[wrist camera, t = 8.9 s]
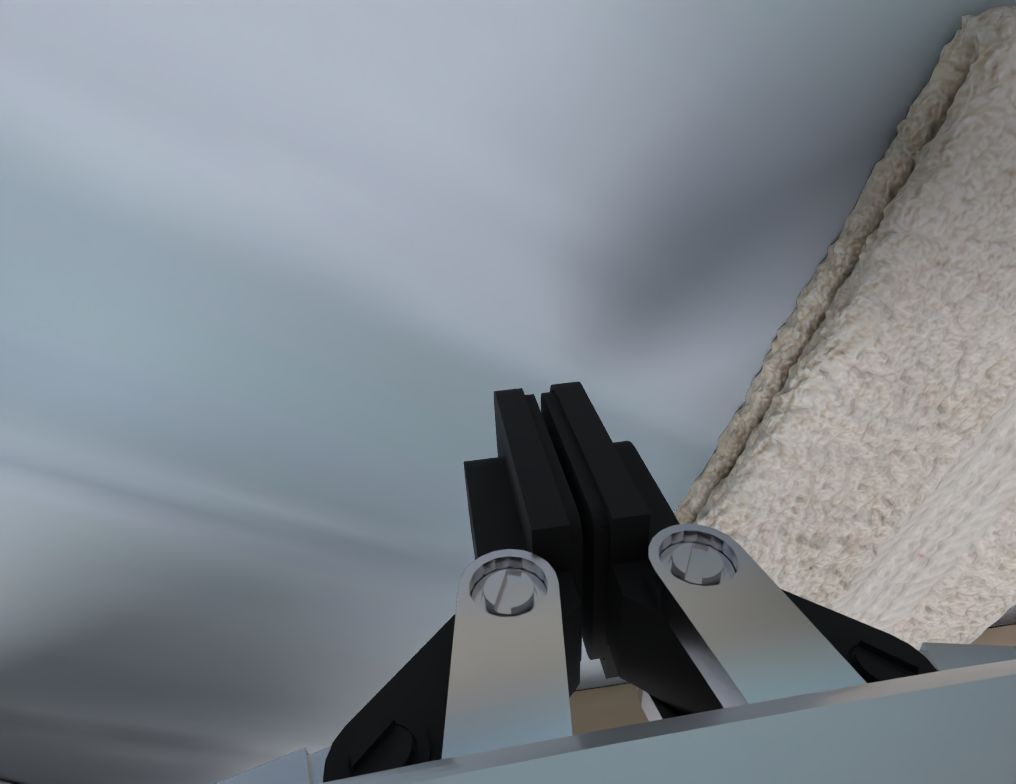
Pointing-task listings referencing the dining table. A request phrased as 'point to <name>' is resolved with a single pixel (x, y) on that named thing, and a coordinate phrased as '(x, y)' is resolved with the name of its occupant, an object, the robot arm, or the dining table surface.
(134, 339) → the dining table surface
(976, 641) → the wooden frame
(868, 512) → the washcloth
